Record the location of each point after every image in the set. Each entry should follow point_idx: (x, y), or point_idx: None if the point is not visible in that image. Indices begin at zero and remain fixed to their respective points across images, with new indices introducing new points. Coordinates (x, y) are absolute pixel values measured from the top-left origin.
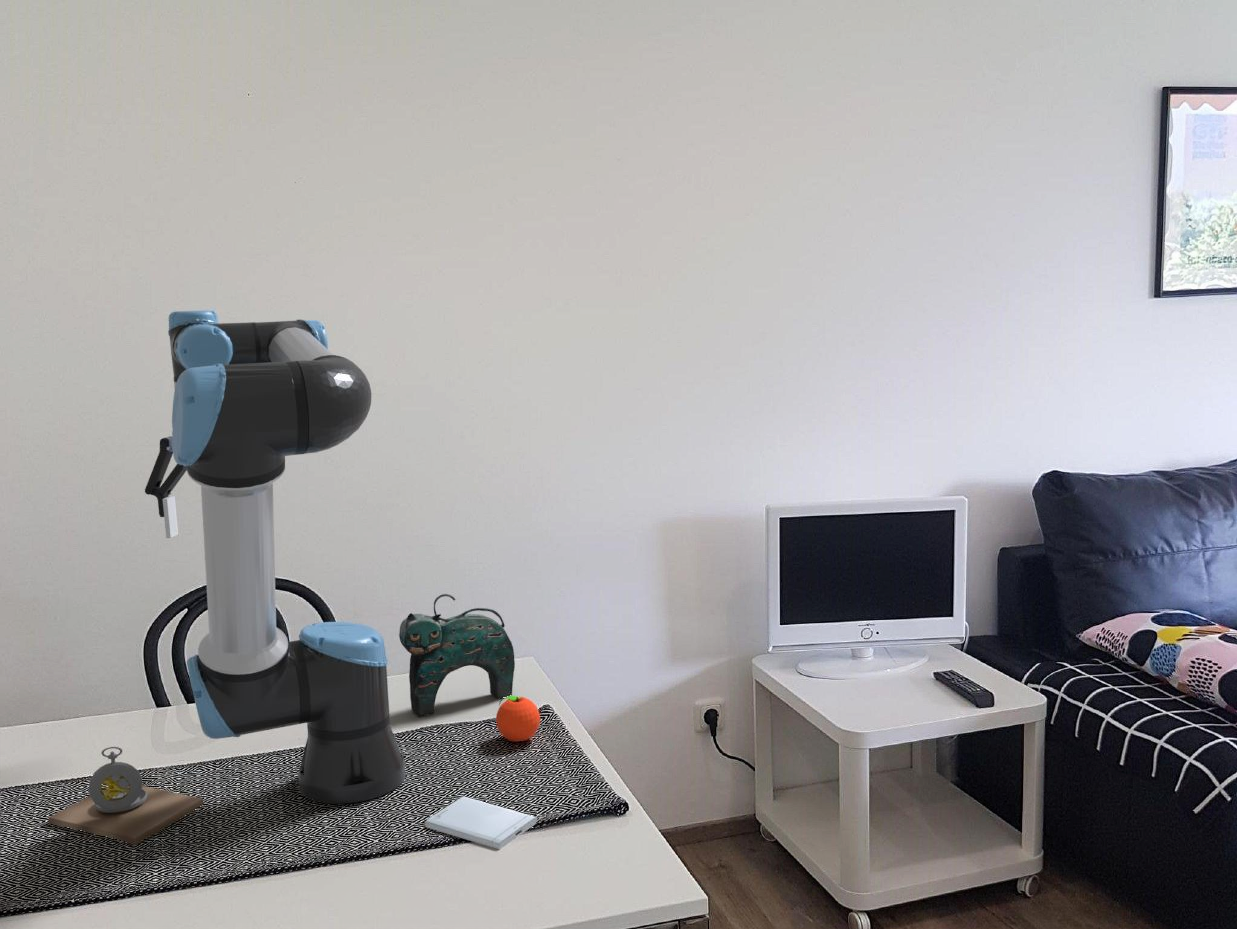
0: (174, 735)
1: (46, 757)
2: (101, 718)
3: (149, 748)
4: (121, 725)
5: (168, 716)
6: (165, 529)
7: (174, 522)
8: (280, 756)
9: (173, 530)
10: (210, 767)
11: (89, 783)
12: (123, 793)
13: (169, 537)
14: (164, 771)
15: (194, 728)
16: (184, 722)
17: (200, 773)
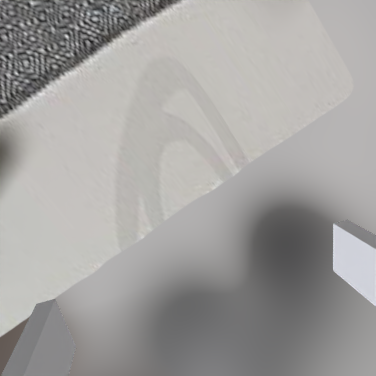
0: (187, 105)
1: (283, 24)
2: (287, 130)
3: (191, 67)
4: (257, 118)
5: (224, 150)
6: (372, 233)
7: (370, 283)
8: (26, 73)
9: (348, 256)
10: (87, 28)
11: None
12: None
13: (338, 223)
14: (133, 8)
15: (178, 127)
16: (198, 139)
17: (87, 9)
